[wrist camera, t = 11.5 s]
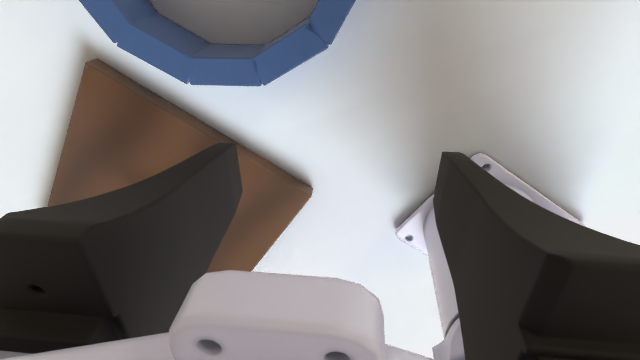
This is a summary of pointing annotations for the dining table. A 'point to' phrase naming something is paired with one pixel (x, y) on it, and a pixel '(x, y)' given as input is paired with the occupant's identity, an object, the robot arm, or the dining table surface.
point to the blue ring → (215, 59)
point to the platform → (166, 160)
